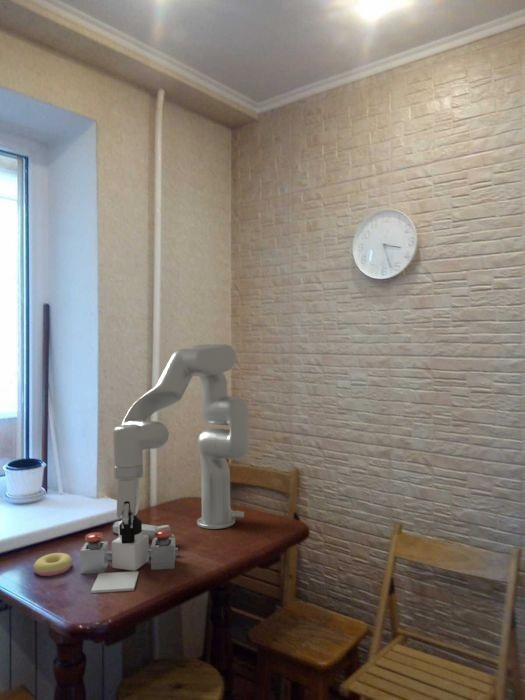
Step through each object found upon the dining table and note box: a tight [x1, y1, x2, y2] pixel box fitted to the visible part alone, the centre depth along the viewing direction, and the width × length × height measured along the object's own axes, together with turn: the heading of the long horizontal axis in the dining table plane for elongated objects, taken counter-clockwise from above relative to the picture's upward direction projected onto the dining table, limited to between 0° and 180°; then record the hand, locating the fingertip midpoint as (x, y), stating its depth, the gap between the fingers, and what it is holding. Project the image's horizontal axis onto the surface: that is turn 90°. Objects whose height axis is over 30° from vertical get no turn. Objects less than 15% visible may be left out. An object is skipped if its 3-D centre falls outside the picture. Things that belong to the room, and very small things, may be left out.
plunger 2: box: [154, 529, 173, 545], centre depth 144 cm, size 5×5×8 cm
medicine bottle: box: [111, 518, 150, 572], centre depth 144 cm, size 7×7×12 cm
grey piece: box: [111, 520, 176, 539], centre depth 164 cm, size 5×7×25 cm
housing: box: [79, 538, 179, 575], centre depth 145 cm, size 25×10×6 cm, turn 97°
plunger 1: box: [84, 531, 104, 549], centre depth 142 cm, size 5×5×8 cm
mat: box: [90, 570, 139, 594], centre depth 133 cm, size 10×10×1 cm
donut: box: [33, 552, 73, 577], centre depth 142 cm, size 10×5×9 cm
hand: (130, 536), depth 144 cm, fingers closed on medicine bottle, 7 cm apart
